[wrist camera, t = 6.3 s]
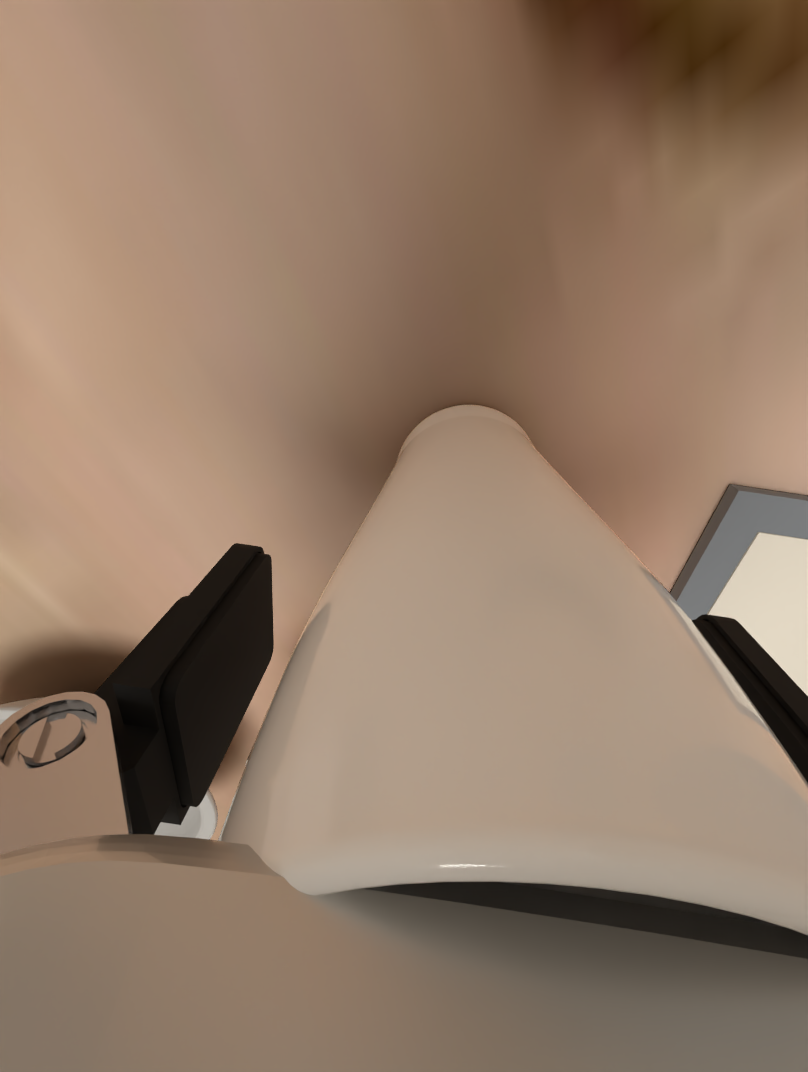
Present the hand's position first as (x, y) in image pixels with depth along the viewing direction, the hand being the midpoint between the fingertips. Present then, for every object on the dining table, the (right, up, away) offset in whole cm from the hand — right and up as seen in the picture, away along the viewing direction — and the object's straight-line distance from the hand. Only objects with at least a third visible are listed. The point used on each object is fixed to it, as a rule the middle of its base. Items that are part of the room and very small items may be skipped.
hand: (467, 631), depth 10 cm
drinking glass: (+1, +5, +8) cm, 9 cm away
